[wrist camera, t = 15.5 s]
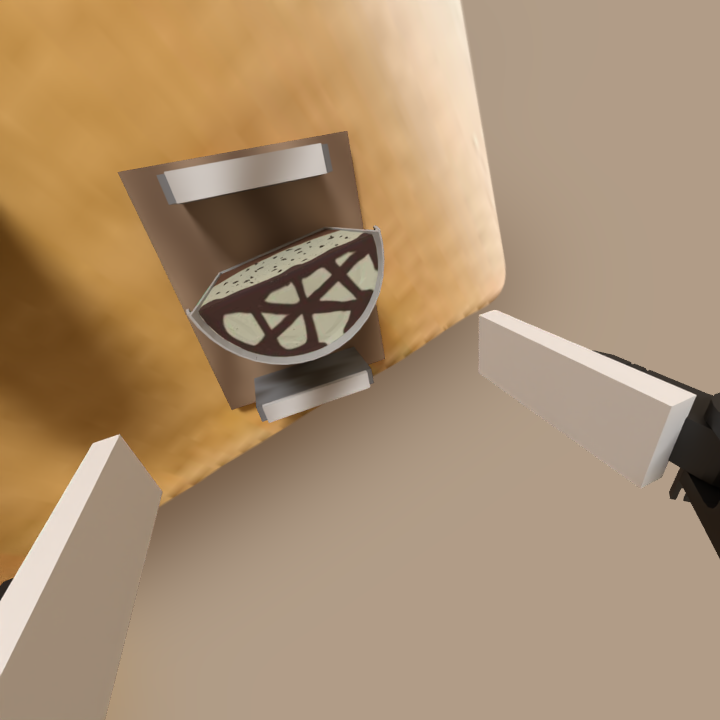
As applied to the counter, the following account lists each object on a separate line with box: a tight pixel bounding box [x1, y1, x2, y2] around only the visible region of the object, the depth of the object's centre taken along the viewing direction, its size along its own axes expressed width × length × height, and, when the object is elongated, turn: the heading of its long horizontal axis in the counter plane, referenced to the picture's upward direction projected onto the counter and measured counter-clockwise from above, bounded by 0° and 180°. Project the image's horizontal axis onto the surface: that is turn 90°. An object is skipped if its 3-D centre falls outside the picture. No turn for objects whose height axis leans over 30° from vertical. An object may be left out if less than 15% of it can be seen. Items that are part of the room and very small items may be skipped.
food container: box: [186, 225, 384, 365], centre depth 23 cm, size 12×6×10 cm, turn 110°
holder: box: [118, 131, 385, 423], centre depth 26 cm, size 16×20×7 cm
